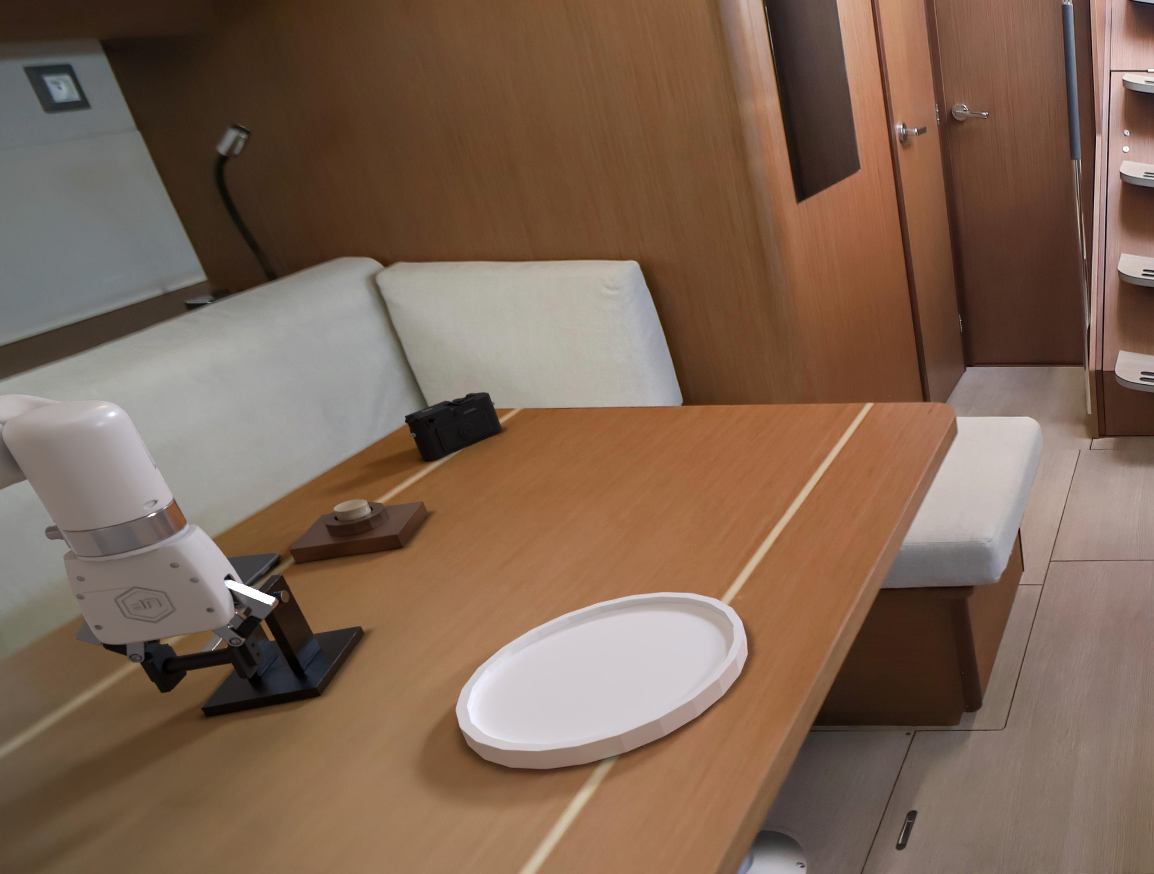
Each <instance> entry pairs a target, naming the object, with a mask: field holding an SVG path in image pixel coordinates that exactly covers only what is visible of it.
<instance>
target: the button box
mask: <svg viewBox="0 0 1154 874" xmlns="http://www.w3.org/2000/svg"><path fill="white" fill-rule="evenodd" d="M367 503H368V505H369V507H370V509H371V513H369V514H367V515H365V516H363V517H361V518H357V519H354V520H347V521H339V520H338V519H337V517H336V514H335V512H334V511H332V512H330V513H325V514H321V515H320V516H319V517H318V518H317V520H315V522H313V524H312V525H311V526H310V527H309V528H308V529H307V530H306V531H305V532H304V533H303V534H302V535H301V536H300V538H298V540H296V542H295V543H294V544H293V545H292V546H291V547H290V548H289V549H288V551H289V552H290V555H291V557H292V559H293V560H294V563H296V564H299V563H305V562H312V561H319V560H326V559H332V558H341V557H346V556H353V555H360V554H367V553H373V552H382V551H387V550H394V549H395V550H396V549H402V548H404V547H405V545H406V544H407V543H408V542H409V540H410V539H411V537H412V536H413V535H414V534H415V532H416V531H417V530H418V528H419V527H420V525H421V524H422V523H423V522H424V520H425V519H426V517H428V515H429V511H428V510H427V507H426V505H425V503H424V501H421V500H420V501H415V502H407V503H402V504H401V503H399V504H393V505H384V504H383V503H382V502H377V501H376V502H375V501H367Z"/></svg>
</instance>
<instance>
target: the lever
mask: <svg viewBox="0 0 1154 874" xmlns="http://www.w3.org/2000/svg"><path fill="white" fill-rule="evenodd" d="M262 585H263V584H256V585H251V586H249V587H250V588H252V589H254V590H258V589H259V588H260V587H261V586H262ZM237 609H238V610H239V611H240V612H241V613H243V614H244V615H245V616H246V617H247V616H248V615H249V614H250V613H251V612H252V610H251V609H250V608H249V607H247V606H244V605H243V606H240V607H238V608H237ZM229 624H230V623H229ZM230 625H231V624H230ZM231 626H232V627H234V626H233V625H231ZM234 628H235V627H234ZM235 629H236V628H235ZM227 644H228V643H227V642H225V641H224V640H223V639H222V638H220V637H219V636H218V635H217V634H215V633H214V634H213V635H212V636H211V637H210V639H209V640H207V642H206V643H205V644H204V645H203V646H202V648H201V649H200V651H199V652H192V653H188V654H187V653H186V654H180V655H177V656H174V657H168V658H166V659H165V660H164V662H163V669H164V671H165V672H166V673H168V674H172V673H178V672H184V671H186V672H189V671H195V670H201V669H206V668H212V667H213V668H214V667H219V666H224V665H232V663H231V662H230V660H229V658H228V656H227V655H226V653H225V649H226V648H227V646H228V645H227Z"/></svg>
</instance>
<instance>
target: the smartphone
mask: <svg viewBox="0 0 1154 874" xmlns="http://www.w3.org/2000/svg"><path fill="white" fill-rule="evenodd" d="M226 558H227V560H228V561H229V562H230V564H231V565H232V567H233V568H234V570H235V571H236V573H237V574H238V576H239V578H240V579H241V581H242V583H243V585H245V586H247V587H249V586H253V584H254V583H256V582H257V581H258V580H259V579H260V578H261V577H262V576H264V575H265V574H266V573H267V572H268V571H269V570H270V569H271V568H272V567H274V566H275V564H276V563H278V561H280V560H281V559H282V556H281V553H278V552H267V553H256V554H247V555H238V556H237V555H236V556H228V557H226Z"/></svg>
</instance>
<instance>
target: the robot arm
mask: <svg viewBox="0 0 1154 874" xmlns="http://www.w3.org/2000/svg"><path fill="white" fill-rule="evenodd" d="M25 481H28V483H29V485H30V486H31V488H32V489H33V491H34V492H35V494H36V495H37V497H38V499H39V500H40V502H41V504H42V505H43V507H44V508H45V510H46V511H47V513H48V515H49V517H50V518H51V519H52V521H53V523H54V524H53V525H48V526H46V528H45V529H44V534H45V537H46V538H47V539H48V540H51V541H54V540H55V541H56V540H61V541H63V540H64V542H65V544H66V546H67V547H68V548H69V549H70V550H69V551H67V552H66V553H65V554H64V555H63V564H64V569H65V572H66V577H67V580H68V584H69V587H70V589H71V593H72V594H73V597H74V600H75V602H76V604H77V606H78V609H79V610H80V612H81V615H82V616H83V618H84V621H83V623H82V624H81V625H80V627H79V628H78V629H77V631H76V633H74V638H75V639H76V640H77V641H80V642H85V643H88V644H91V645H95V646H98V647H100V646H102V648H104V649H105V650H107V651H110V652H113V653H115V654H119V655H122V656H124V657H125V656H126V658H127V660H128V661H129V662H130V663H134V664H140V666H141V667H142V669H143V670H144V672H145V674H146V675H147V677H148V678H149V680H150V681H151V682H152V684H153V683H154V684H155V686H156V688H157V689H158V691H159V693H161V694H165V693H171V692H172V691H173V690H174V689H175V688H176V687H177V686H178V685H179V684H180V683H181V681H182V680H183V679H185V677H186V676H187V674H188V671H184V672H178V673H172V674H168V673H166V672H165V671H164V669H163V662H164V660H165V659H166V658H168V657H174V656H178V655H177V653H176V651H175V650H174V648H173V646H172V645H170V644H169V643H161V640H163V639H169V638H176V637H182V636H188V635H194V634H200V633H206V632H211V631H212V632H213V633H214V634H217V635H218V636H219V637H220V638H222V639H223V640H224V641H225V642H227V643H228V644H229V645H227V646H226V647H225V648H226V649H225V653H226V655H227V656H228V658H229V660H230V662H231V665H232V667H233V670H234V669H235V670H236V672H237V674H238V676H239V677H240V678H242V679H247V678H251V677H252V676H253V674H254V673H255V672H256V671H257V670H258V668H259V667H260V666H261V665H262V664H263V662H264V653H263V651H262V650H261V648H260V646H259V644H258V642H257V641H256V639H255V637H254V635H253V632H254V631H255V629H256V628H257V627H258V626H259V624H261V623H262V622H263V621H265V620H264V619H265V618H266V616H267V615H268V614H269V613H270V612H271V611H272V610H273V609H274V608H275V607H276V606H277V604H278V603H279V601H278V599H276V598H274V597H272V596H269V595H267V594H264V593H262V592H259V591H257V590H254V589H252V588H250V587H247V586H245V585H243V583H242V581H241V579H240V578H239V576H238V574H237V573H236V571H235V570H234V568H233V567H232V565H231V564H230V562H229V561H228V560H227V558H228V557H226V555H225V554H224V553H223V551H222V550H221V549H220V547H219V546H218V545H217V544H216V542H214V540H213V539H212V538H211V537H210V536H209V535H208V534H207V533H206V532H205V531H204V530H203V529H202V528H201V527H200V526H199V525H198V524H197V523H189V521H188V520H187V518H186V517H185V515H184V513H183V511H182V509H181V507H180V506H179V504H178V503H177V500H176V499H175V496H174V495H173V492H172V491H171V490H170V487H169V485H168V484H167V482H166V481H165V479H164V477H163V475H162V473H161V471H160V470H159V468H158V466H157V464H156V463H155V461H154V459H153V457H152V454H151V453H150V451H149V450H148V448H147V446H146V444H145V442H144V441H143V439H142V437H141V435H140V434H139V431H138V430H137V427H136V426H135V424H134V423H133V420H132V419H131V417H130V416H129V414H128V413H127V412H126V411H125V410H124V409H123V408H122V407H121V406H120V405H119V404H116V403H114V402H112V401H108V400H107V401H106V400H101V399H82V400H71V401H61V400H57V399H51V398H47V397H43V396H42V397H41V396H36V395H31V394H21V393H11V394H10V393H9V394H0V491H2V490H4V489H6V488H8V487H11V486H13V485H15V484H19V483H22V482H25ZM243 605H244V606H247V607H249V608H250V609H251V610H252V612H251V613H250V614H249V615H248V616H247V617H246V616H245V615H244V614H243V613H241V612H240V611H239V610H238V609H237V608H238V607H240V606H243ZM229 623H230V624H231V625H233V626H234V627H235V628H236V629H235V628H234V627H232V626H231V625H230V624H229Z"/></svg>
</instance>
